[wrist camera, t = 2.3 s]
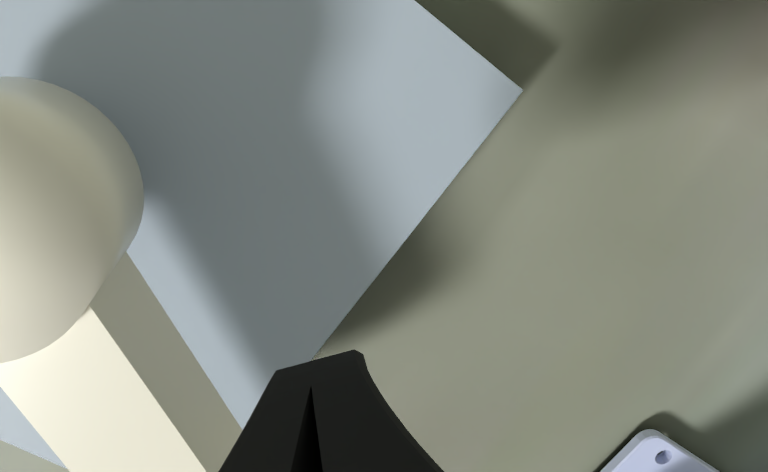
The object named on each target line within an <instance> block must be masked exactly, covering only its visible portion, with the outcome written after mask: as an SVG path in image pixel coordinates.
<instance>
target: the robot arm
mask: <svg viewBox="0 0 768 472" xmlns="http://www.w3.org/2000/svg"><path fill="white" fill-rule="evenodd" d="M661 451H663V452H662V453H660V454H659V455H657V454H658V453H659V452H661ZM218 472H444V471H443V470H442V469H441V468H440V467H439V466H438V465H437V464H436V463H435V462H434V460H433V459H432V458H431V457H430V456H429V455H428V454H427V453H426V452H425V450H424V449H423V448H422V447H421V446H420V445H419V444H418V443H417V441H416V440H415V439H414V438H413V437H412V435H411V434H410V433H409V432H408V430H407V429H406V428H405V427H404V425H403V424H402V423H401V421H400V420H399V419H398V417H397V416H396V415H395V413H394V412H393V411H392V409H391V408H390V407H389V405H388V404H387V402H386V401H385V399H384V398H383V396H382V395H381V393H380V392H379V390H378V388H377V387H376V385H375V383H374V382H373V380H372V378H371V376H370V374H369V372H368V370H367V366H366V363H365V359H364V356H363V354H362V353H360V352H358V351H356V350H351V351H347V352H343V353H339V354H336V355H332V356H328V357H324V358H321V359H317V360H313V361H309V362H306V363H302V364H298V365H294V366H291V367H287V368H283V369H279V370H276V371H275V373H274V374H273V376H272V378H271V379H270V381H269V383H268V385H267V386H266V388H265V390H264V392H263V394H262V396H261V397H260V399H259V401H258V403H257V405H256V407H255V409H254V410H253V412H252V414H251V416H250V418H249V420H248V421H247V423H246V425H245V427H244V429H243V430H242V432H241V434H240V436H239V437H238V439H237V441H236V442H235V444H234V446H233V448H232V449H231V451H230V453H229V454H228V456H227V458H226V460H225V461H224V463H223V465H222V466H221V468H220V470H219V471H218ZM600 472H720V471H718V470H717V469H715V468H714V467H712V466H710V465H709V464H707V463H706V462H704V461H703V460H701V459H700V458H698V457H697V456H695V455H694V454H692V453H691V452H689V451H688V450H686V449H685V448H683V447H682V446H680V445H679V444H677V443H675V442H674V441H672V440H671V439H669V438H668V437H666V436H665V435H663V434H662V433H660V432H659V431H657V430H654V429H646V430H644V431H641V432H639V433H638V434H637V435H635V436H634V437H633V438H632V440H631V441H630V442H629V443H628V444H627V445H626V446H625V447H624V448H623V449H622V450H621V451H620V452H619V453H618V454H617V455H616V456H615V457H614V458H613V459H612V460H611V461H610V462H609V463H608V464H607V465H606V466H605V467H604V468H603V469H602V470H601V471H600Z"/></svg>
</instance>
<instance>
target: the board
mask: <svg viewBox="0 0 768 472" xmlns="http://www.w3.org/2000/svg"><path fill="white" fill-rule="evenodd" d="M5 76H7V77H24V78H30V79H36V80H41V81H44V82H47V83H51V84H54V85H57V86H59V87H61V88H64V89H66V90H69V91H71V92H72V93H74V94H76V95H78V96H80V97H81V98H83V99H85V100H86V101H88V102H89V103H90V104H92V105H93V106H95V107H96V108H97V109H98V110H100V111H101V112H102V113H103V114H104V115H105V116H106V117H107V118H108V119H109V120H110V121H111V122H112V123H113V124H114V125H115V126H116V128H117V129H118V130H119V131H120V132H121V134H122V135H123V137H124V138H125V140H126V141H127V143H128V144H129V146H130V148H131V150H132V152H133V154H134V156H135V158H136V161H137V163H138V166H139V169H140V172H141V177H142V181H143V189H144V208H143V214H142V219H141V223H140V226H139V229H138V231H137V234H136V236H135V238H134V239H133V241H132V243H131V245H130V246H129V248H128V249H127V251H126V252H127V253H128V255H129V256H130V258H131V259H132V261H133V263H134V264H135V266H136V267H137V269H138V270H139V272H140V273H141V275H142V276H143V278H144V279H145V281H146V283H147V284H148V286H149V287H150V289H151V290H152V292H153V293H154V295H155V296H156V298H157V299H158V301H159V303H160V304H161V306H162V307H163V309H164V310H165V312H166V313H167V315H168V316H169V318H170V319H171V321H172V323H173V324H174V326H175V327H176V329H177V330H178V332H179V333H180V335H181V336H182V338H183V339H184V341H185V343H186V344H187V346H188V347H189V349H190V350H191V352H192V353H193V355H194V356H195V358H196V359H197V361H198V362H199V364H200V366H201V367H202V369H203V370H204V372H205V373H206V375H207V376H208V378H209V379H210V381H211V382H212V384H213V386H214V387H215V389H216V390H217V392H218V393H219V395H220V396H221V398H222V399H223V401H224V402H225V404H226V406H227V407H228V409H229V410H230V412H231V413H232V415H233V416H234V418H235V419H236V421H237V422H238V424H239V426H240V427H241V429H242V430H243V429H244V427H245V425H246V423H247V421H248V420H249V418H250V416H251V414H252V412H253V410H254V409H255V407H256V405H257V403H258V401H259V399H260V397H261V396H262V394H263V392H264V390H265V388H266V386H267V385H268V383H269V381H270V379H271V378H272V376H273V374H274V373H275V371H276V370H279V369H283V368H287V367H291V366H294V365H298V364H302V363H306V362H309V361H311V360H312V358H313V357H314V356H315V354H316V353H317V352H318V351H319V349H320V348H321V347H322V346H323V344H324V343H325V342H326V340H327V339H328V338H329V337H330V335H331V334H332V333H333V332H334V330H335V329H336V328H337V327H338V325H339V324H340V323H341V321H342V320H343V319H344V318H345V316H346V315H347V314H348V313H349V311H350V310H351V309H352V307H353V306H354V305H355V304H356V302H357V301H358V300H359V299H360V297H361V296H362V295H363V293H364V292H365V291H366V290H367V288H368V287H369V286H370V285H371V283H372V282H373V281H374V279H375V278H376V277H377V276H378V274H379V273H380V272H381V271H382V269H383V268H384V267H385V265H386V264H387V263H388V262H389V260H390V259H391V258H392V257H393V255H394V254H395V253H396V251H397V250H398V249H399V248H400V246H401V245H402V244H403V243H404V241H405V240H406V239H407V238H408V236H409V235H410V234H411V232H412V231H413V230H414V229H415V227H416V226H417V225H418V224H419V222H420V221H421V220H422V218H423V217H424V216H425V215H426V213H427V212H428V211H429V210H430V208H431V207H432V206H433V204H434V203H435V202H436V201H437V199H438V198H439V197H440V196H441V194H442V193H443V192H444V190H445V189H446V188H447V187H448V185H449V184H450V183H451V182H452V180H453V179H454V178H455V176H456V175H457V174H458V173H459V171H460V170H461V169H462V168H463V166H464V165H465V164H466V163H467V161H468V160H469V159H470V157H471V156H472V155H473V154H474V152H475V151H476V150H477V149H478V147H479V146H480V145H481V143H482V142H483V141H484V140H485V138H486V137H487V136H488V135H489V133H490V132H491V131H492V129H493V128H494V127H495V126H496V124H497V123H498V122H499V121H500V119H501V118H502V117H503V115H504V114H505V113H506V112H507V110H508V109H509V108H510V107H511V105H512V104H513V103H514V101H515V100H516V99H517V98H518V96H519V95H520V94H521V93H522V91H523V90H522V89H521V88H520V87H519V86H517V85H516V84H515V83H514V82H513V81H511V80H510V79H509V78H508V77H507V76H505V75H504V74H503V73H502V72H501V71H499V70H498V69H497V68H496V67H495V66H493V65H492V64H491V63H490V62H488V61H487V60H486V59H485V58H484V57H482V56H481V55H480V54H479V53H478V52H476V51H475V50H474V49H473V48H472V47H470V46H469V45H468V44H467V43H466V42H464V41H463V40H462V39H461V38H459V37H458V36H457V35H456V34H455V33H453V32H452V31H451V30H450V29H449V28H447V27H446V26H445V25H444V24H443V23H441V22H440V21H439V20H438V19H437V18H435V17H434V16H433V15H432V14H430V13H429V12H428V11H427V10H426V9H424V8H423V7H422V6H421V5H420V4H418V3H417V2H416V1H415V0H0V77H5ZM0 440H2V441H4V442H7V443H9V444H11V445H13V446H16V447H18V448H20V449H23V450H25V451H27V452H29V453H32V454H34V455H36V456H39V457H41V458H43V459H46V460H48V461H50V462H52V463H55V464H57V465H59V466H62V467H64V468H66V469H67V467H66V466H65V465H64V464H63V462H62V461H61V460H60V459H59V458H58V456H57V455H56V454H55V453H54V451H53V450H52V449H51V448H50V447H49V445H48V444H47V443H46V442H45V440H44V439H43V438H42V437H41V436H40V434H39V433H38V432H37V431H36V430H35V428H34V427H33V426H32V425H31V423H30V422H29V421H28V420H27V419H26V417H25V416H24V415H23V414H22V412H21V411H20V410H19V409H18V408H17V406H16V405H15V404H14V403H13V402H12V400H11V399H10V398H9V397H8V395H7V394H6V393H5V392H4V391H3V389H2V388H1V387H0Z"/></svg>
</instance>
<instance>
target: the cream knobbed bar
mask: <svg viewBox="0 0 768 472" xmlns="http://www.w3.org/2000/svg"><path fill="white" fill-rule="evenodd" d="M143 208H144V189H143V181H142V177H141V172H140V169H139V166H138V163H137V161H136V158H135V156H134V154H133V152H132V150H131V148H130V146H129V144H128V143H127V141H126V140H125V138H124V137H123V135H122V134H121V132H120V131H119V130H118V129H117V128H116V126H115V125H114V124H113V123H112V122H111V121H110V120H109V119H108V118H107V117H106V116H105V115H104V114H103V113H102V112H101V111H100V110H98V109H97V108H96V107H95V106H93V105H92V104H90V103H89V102H88V101H86V100H85V99H83V98H81V97H80V96H78V95H76V94H74V93H72V92H71V91H69V90H66V89H64V88H61V87H59V86H57V85H54V84H51V83H47V82H44V81H41V80H36V79H30V78H24V77H7V76H5V77H0V387H1V388H2V389H3V391H4V392H5V393H6V394H7V395H8V397H9V398H10V399H11V400H12V402H13V403H14V404H15V405H16V406H17V408H18V409H19V410H20V411H21V412H22V414H23V415H24V416H25V417H26V419H27V420H28V421H29V422H30V423H31V425H32V426H33V427H34V428H35V430H36V431H37V432H38V433H39V434H40V436H41V437H42V438H43V439H44V440H45V442H46V443H47V444H48V445H49V447H50V448H51V449H52V450H53V451H54V453H55V454H56V455H57V456H58V458H59V459H60V460H61V461H62V462H63V464H64V465H65V466H66V467H67V469H68V470H69V471H70V472H218V471H219V470H220V468H221V466H222V465H223V463H224V461H225V460H226V458H227V456H228V454H229V453H230V451H231V449H232V448H233V446H234V444H235V442H236V441H237V439H238V437H239V436H240V434H241V432H242V429H241V427H240V426H239V424H238V422H237V421H236V419H235V418H234V416H233V415H232V413H231V412H230V410H229V409H228V407H227V406H226V404H225V402H224V401H223V399H222V398H221V396H220V395H219V393H218V392H217V390H216V389H215V387H214V386H213V384H212V382H211V381H210V379H209V378H208V376H207V375H206V373H205V372H204V370H203V369H202V367H201V366H200V364H199V362H198V361H197V359H196V358H195V356H194V355H193V353H192V352H191V350H190V349H189V347H188V346H187V344H186V343H185V341H184V339H183V338H182V336H181V335H180V333H179V332H178V330H177V329H176V327H175V326H174V324H173V323H172V321H171V319H170V318H169V316H168V315H167V313H166V312H165V310H164V309H163V307H162V306H161V304H160V303H159V301H158V299H157V298H156V296H155V295H154V293H153V292H152V290H151V289H150V287H149V286H148V284H147V283H146V281H145V279H144V278H143V276H142V275H141V273H140V272H139V270H138V269H137V267H136V266H135V264H134V263H133V261H132V259H131V258H130V256H129V255H128V253H127V252H126V251H127V249H128V248H129V246H130V245H131V243H132V241H133V239H134V238H135V236H136V234H137V231H138V229H139V226H140V223H141V219H142V214H143Z"/></svg>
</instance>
